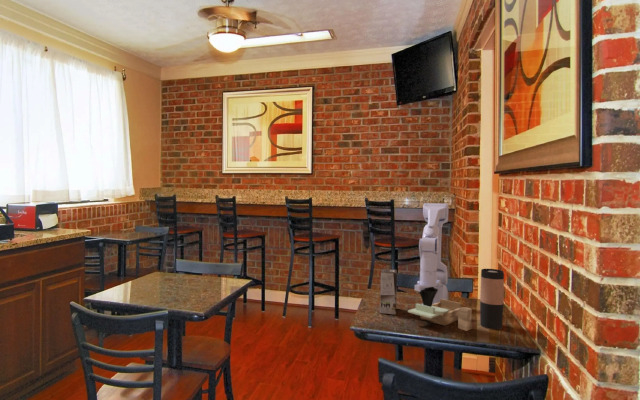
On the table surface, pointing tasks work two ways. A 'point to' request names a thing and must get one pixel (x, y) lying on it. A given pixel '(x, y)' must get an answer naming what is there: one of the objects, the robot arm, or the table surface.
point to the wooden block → (464, 318)
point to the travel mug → (491, 298)
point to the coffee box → (388, 291)
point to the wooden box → (446, 317)
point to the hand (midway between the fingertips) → (427, 308)
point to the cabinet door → (428, 311)
